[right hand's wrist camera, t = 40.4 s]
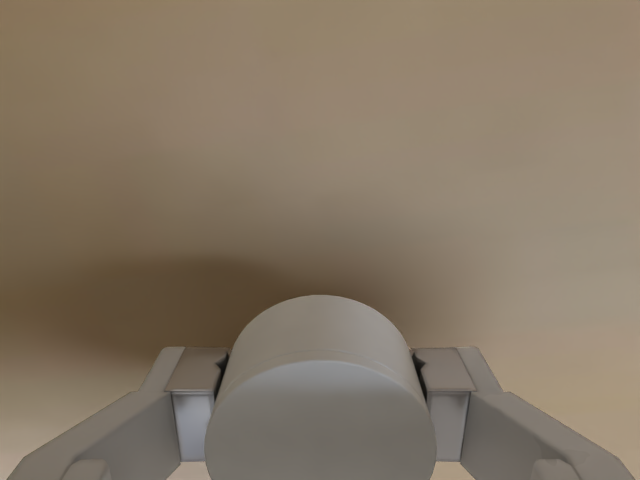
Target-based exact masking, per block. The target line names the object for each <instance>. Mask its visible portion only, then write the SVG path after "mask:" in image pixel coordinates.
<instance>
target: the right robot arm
mask: <svg viewBox="0 0 640 480" xmlns="http://www.w3.org/2000/svg"><path fill="white" fill-rule="evenodd" d="M410 353H411V356H412V360H413V363H414V366H415V369H416V372H417V376H418V379H419V382H420V385H421V388H422V392H423V395H424V398H425V401H426V404H427V408H428V411H429V414H430V417H431V420H432V423H433V427H434V431H435V435H436V443H437V454H436V461H447V462H461V463H460V464H461V465H462V466H463V467H464V468H465V469H466V470H467V471H468V472H469V473H470V474H471V475H472V476H473V477H474V478H475V479H476V480H635V479H634V477H633V476H632V475H631V473H630V472H629V471H628V469H627V468H626V467H625V466H624V464H623V463H622V462H621V460H620V459H619V458H618V457H616V456H615V455H613V454H611V453H610V452H608V451H606V450H605V449H603V448H602V447H600V446H598V445H597V444H595V443H593V442H592V441H590V440H588V439H587V438H585V437H584V436H582V435H580V434H579V433H577V432H575V431H574V430H572V429H570V428H569V427H567V426H565V425H564V424H562V423H561V422H559V421H557V420H556V419H554V418H552V417H551V416H549V415H547V414H546V413H544V412H543V411H541V410H539V409H538V408H536V407H534V406H533V405H531V404H529V403H528V402H526V401H525V400H523V399H521V398H520V397H518V396H516V395H515V394H513V393H511V392H504V391H503V390H502V388H501V386H500V385H499V383H498V381H497V379H496V378H495V376H494V374H493V373H492V371H491V369H490V367H489V366H488V364H487V362H486V361H485V359H484V357H483V355H482V354H481V352H480V350H479V349H478V348H477V347H475V346H470V347H452V348H411V349H410ZM230 354H231V350H230V348H225V347H165V348H163V349H162V350H161V352H160V353H159V355H158V357H157V359H156V360H155V362H154V364H153V366H152V367H151V369H150V371H149V373H148V374H147V376H146V378H145V380H144V381H143V383H142V385H141V387H140V388H139V390H138V392H130V393H128V394H127V395H125V396H123V397H122V398H120V399H118V400H117V401H115V402H113V403H112V404H110V405H109V406H107V407H105V408H104V409H102V410H100V411H99V412H97V413H95V414H94V415H92V416H90V417H89V418H87V419H86V420H84V421H82V422H81V423H79V424H77V425H76V426H74V427H72V428H71V429H69V430H68V431H66V432H64V433H63V434H61V435H59V436H58V437H56V438H54V439H53V440H51V441H49V442H48V443H46V444H45V445H43V446H41V447H40V448H38V449H36V450H35V451H33V452H31V453H30V454H28V455H27V456H25V457H24V458H23V459H22V460H21V461H20V463H19V464H18V465H17V467H16V468H15V469H14V471H13V472H12V473H11V474H10V476H9V477H8V478H7V480H166V479H167V478H168V477H169V476H170V475H171V474H172V473H173V472H174V471H175V470H176V468H177V467H178V466H179V465H180V464H181V463H180V462H194V461H205V454H204V440H205V435H206V430H207V426H208V423H209V420H210V417H211V414H212V411H213V407H214V404H215V401H216V398H217V395H218V392H219V389H220V385H221V382H222V379H223V376H224V373H225V370H226V367H227V363H228V360H229V357H230Z"/></svg>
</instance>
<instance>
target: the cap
mask: <svg viewBox="0 0 640 480" xmlns="http://www.w3.org/2000/svg"><path fill="white" fill-rule="evenodd" d="M204 454H205V461H206V466H207V469H208V472H209V475H210V477H211V479H212V480H430V477H431V475H432V473H433V469H434V466H435V462H436V454H437V443H436V435H435V431H434V427H433V423H432V420H431V417H430V414H429V411H428V408H427V404H426V401H425V398H424V395H423V392H422V388H421V385H420V382H419V379H418V376H417V372H416V369H415V366H414V363H413V360H412V356H411V353H410V350H409V348H408V346H407V343H406V341H405V339H404V338H403V336H402V335H401V333H400V332H399V330H398V329H397V328H396V327H395V326H394V324H393V323H392V322H390V321H389V320H388V319H387V318H386V317H385V316H384V315H382V314H381V313H379V312H378V311H376V310H375V309H373V308H371V307H369V306H367V305H365V304H363V303H360V302H358V301H355V300H352V299H348V298H344V297H340V296H331V295H309V296H302V297H297V298H293V299H289V300H286V301H283V302H281V303H278V304H276V305H274V306H272V307H270V308H268V309H266V310H265V311H263V312H262V313H260V314H259V315H258V316H256V317H255V318H254V319H253V320H252V321H251V322H250V323H249V324H248V325H247V326H246V327H245V328H244V329H243V331H242V332H241V333H240V335H239V336H238V338H237V340H236V342H235V343H234V346H233V349H232V351H231V354H230V357H229V360H228V363H227V367H226V370H225V373H224V376H223V379H222V382H221V385H220V389H219V392H218V395H217V398H216V401H215V404H214V407H213V411H212V414H211V417H210V420H209V423H208V426H207V430H206V435H205V440H204Z"/></svg>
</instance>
